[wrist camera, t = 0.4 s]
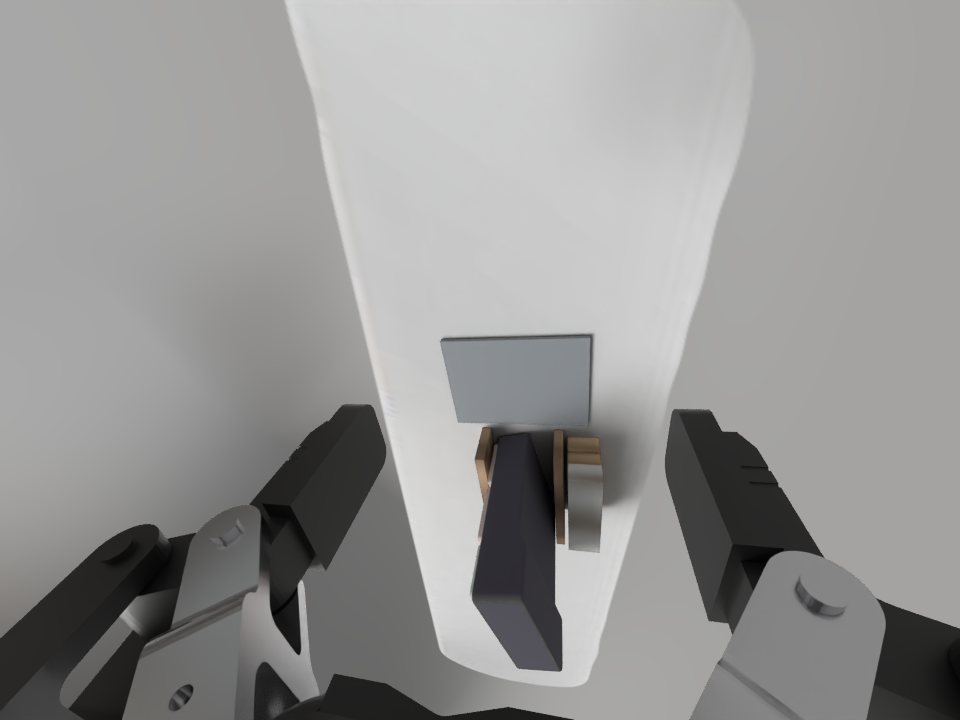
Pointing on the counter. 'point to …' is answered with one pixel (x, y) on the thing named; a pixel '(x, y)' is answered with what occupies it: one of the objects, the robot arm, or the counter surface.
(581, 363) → the slate mat
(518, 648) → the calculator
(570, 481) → the offcut stack
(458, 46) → the counter surface
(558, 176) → the counter surface
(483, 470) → the rack
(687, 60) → the counter surface
